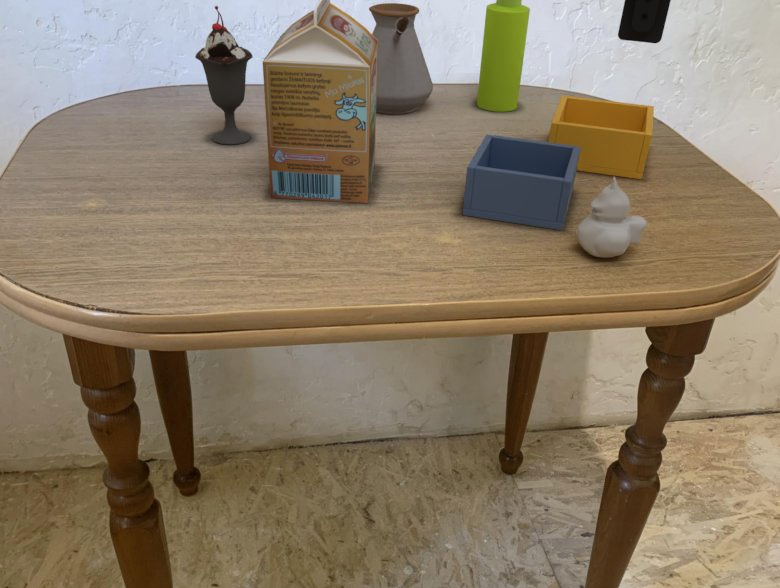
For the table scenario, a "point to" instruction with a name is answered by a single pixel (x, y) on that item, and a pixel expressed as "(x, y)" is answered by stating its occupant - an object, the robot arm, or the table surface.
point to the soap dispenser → (502, 55)
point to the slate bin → (521, 181)
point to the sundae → (225, 79)
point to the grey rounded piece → (610, 224)
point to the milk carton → (322, 108)
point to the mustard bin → (605, 134)
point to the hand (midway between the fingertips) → (640, 27)
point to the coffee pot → (399, 60)
